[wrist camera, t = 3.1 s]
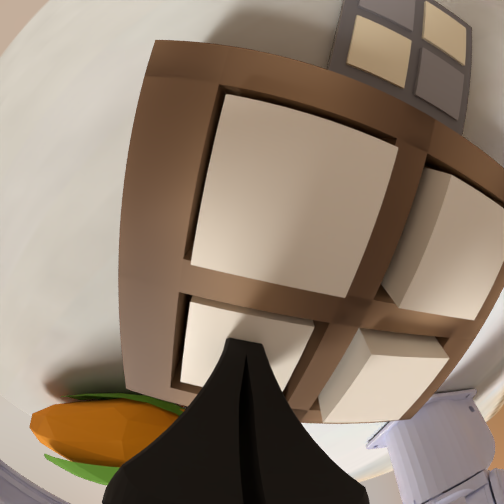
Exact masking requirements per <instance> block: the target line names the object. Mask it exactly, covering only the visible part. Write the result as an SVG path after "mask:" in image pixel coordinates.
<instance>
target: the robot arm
mask: <svg viewBox="0 0 504 504" xmlns="http://www.w3.org/2000/svg"><path fill="white" fill-rule="evenodd" d="M476 393H477V390H476V389H470V390H463V391H456V392H448V393H439V394H433V395H432V396H431V398H430V399H429V400H428V401H427V402H426V403H425V404H424V405H423V406H422V408H421V409H420V410H419V411H418V412H417V413H416V414H415V415H414V416H413V417H412V418H411V419H408V420H399V421H390V422H389V423H388V424H387V425H386V426H385V427H384V428H383V429H382V430H381V431H380V432H379V433H378V434H377V435H376V436H375V437H374V438H373V439H372V440H371V441H370V442H368V443H367V444H366V449H375V448H383V447H387V449H388V452H389V456H390V459H391V463H392V466H393V469H394V473H395V476H396V480H397V484H398V488H399V491H400V495H401V499H402V503H403V504H504V470H503V469H497V468H495V469H493V470H492V471H489V470H487V469H488V467H489V466H490V464H491V462H492V460H493V457H494V453H495V442H494V438H493V436H492V434H491V432H490V430H489V428H488V426H487V424H486V422H485V420H484V418H483V417H482V415H481V413H480V411H479V409H478V408H477V406H476V404H475V402H474V401H473V399H472V398H473V397H474V396H475V394H476ZM102 503H103V504H369V498H368V495H367V492H366V489H365V487H364V486H362V485H361V484H360V483H359V482H357V481H356V480H355V479H353V478H352V477H351V476H349V475H348V474H347V473H346V472H344V471H343V470H342V469H341V468H340V467H339V466H338V465H337V464H336V463H335V462H333V461H332V460H331V459H330V458H329V456H328V455H327V454H326V453H325V452H324V451H323V450H322V449H321V448H320V447H319V446H318V444H317V443H316V442H315V441H314V440H313V439H312V437H311V436H310V435H309V433H308V432H307V431H306V430H305V428H304V427H303V425H302V424H301V423H300V421H299V420H298V418H297V417H296V415H295V413H294V412H293V410H292V409H291V407H290V405H289V403H288V402H287V400H286V398H285V396H284V394H283V392H282V390H281V388H280V386H279V384H278V382H277V380H276V378H275V376H274V373H273V371H272V368H271V366H270V364H269V361H268V358H267V355H266V353H265V350H264V346H263V345H262V344H261V343H255V342H250V341H245V340H240V339H235V338H230V337H229V338H227V339H226V341H225V345H224V349H223V352H222V354H221V356H220V358H219V361H218V363H217V364H216V366H215V368H214V370H213V372H212V373H211V375H210V377H209V378H208V380H207V381H206V383H205V384H204V386H203V387H202V389H201V390H200V392H199V393H198V394H197V396H196V397H195V398H194V400H193V401H192V402H191V403H190V405H189V406H188V407H187V408H186V409H185V411H184V412H183V413H182V414H181V415H180V416H179V417H178V418H177V419H176V420H175V421H174V422H173V424H172V425H171V426H170V427H169V428H167V429H166V430H165V431H164V432H163V433H162V434H161V435H160V436H159V437H158V438H156V439H155V440H154V441H153V442H152V443H151V444H149V445H148V446H147V447H146V448H145V449H143V450H142V451H141V452H139V453H138V454H136V455H135V456H134V457H132V458H131V459H129V460H128V461H127V462H125V463H124V464H122V466H121V467H120V468H119V469H118V471H117V472H116V473H115V474H114V476H113V477H112V478H111V480H110V482H109V483H108V485H107V487H106V490H105V493H104V497H103V500H102ZM0 504H70V503H68V502H66V501H64V500H62V499H60V498H58V497H57V496H55V495H53V494H51V493H49V492H48V491H46V490H44V489H43V488H41V487H39V486H38V485H36V484H34V483H33V482H31V481H30V480H28V479H27V478H25V477H24V476H22V475H20V474H19V473H18V472H16V471H15V470H13V469H12V468H11V467H9V466H8V465H7V464H5V463H4V462H3V461H1V460H0Z"/></svg>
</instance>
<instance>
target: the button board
mask: <svg viewBox="0 0 504 504" xmlns="http://www.w3.org/2000/svg"><path fill="white" fill-rule="evenodd" d="M226 94H229V95H234V96H240V97H244V98H249V99H254V100H258V101H263V102H267V103H271V104H275V105H279V106H283V107H287V108H290V109H294V110H297V111H301V112H304V113H308V114H311V115H314V116H317V117H321V118H324V119H327V120H330V121H333V122H336V123H338V124H341V125H344V126H347V127H350V128H352V129H355V130H358V131H360V132H363V133H365V134H368V135H370V136H373V137H375V138H378V139H380V140H382V141H385V142H387V143H389V144H392V145H394V146H396V147H398V152H397V155H396V159H395V163H394V166H393V170H392V173H391V176H390V180H389V183H388V186H387V189H386V192H385V196H384V199H383V202H382V205H381V208H380V211H379V214H378V216H377V219H376V222H375V225H374V228H373V231H372V233H371V236H370V239H369V241H368V244H367V247H366V249H365V252H364V254H363V257H362V259H361V262H360V264H359V267H358V269H357V272H356V274H355V276H354V279H353V281H352V283H351V286H350V288H349V290H348V293H347V295H346V297H345V298H343V297H338V296H332V295H327V294H322V293H317V292H312V291H308V290H303V289H298V288H293V287H288V286H284V285H279V284H274V283H269V282H265V281H260V280H256V279H251V278H247V277H242V276H238V275H233V274H229V273H224V272H220V271H215V270H211V269H207V268H203V267H198V266H194V265H191V259H192V253H193V246H194V241H195V235H196V229H197V223H198V218H199V212H200V207H201V202H202V197H203V192H204V187H205V182H206V177H207V172H208V167H209V163H210V158H211V154H212V149H213V145H214V140H215V136H216V132H217V128H218V124H219V119H220V115H221V111H222V107H223V104H224V100H225V96H226ZM424 167H425V168H429V169H433V170H436V171H440V172H444V173H447V174H451V175H453V176H455V177H456V178H458V179H460V180H461V181H463V182H465V183H466V184H468V185H470V186H471V187H473V188H474V189H476V190H478V191H479V192H481V193H482V194H484V195H485V196H487V197H488V198H490V199H491V200H493V201H494V202H495V203H497V204H498V205H500V206H501V207H503V208H504V168H503V167H502V166H501V165H500V164H498V163H497V162H496V161H495V160H493V159H492V158H491V157H490V156H488V155H487V154H486V153H485V152H483V151H482V150H481V149H479V148H478V147H477V146H475V145H474V144H472V143H471V142H470V141H468V140H467V139H465V138H464V137H462V136H461V135H459V134H458V133H456V132H455V131H453V130H452V129H450V128H449V127H447V126H446V125H444V124H442V123H441V122H439V121H438V120H436V119H434V118H432V117H431V116H429V115H427V114H426V113H424V112H422V111H420V110H418V109H417V108H415V107H413V106H411V105H409V104H407V103H405V102H403V101H401V100H399V99H397V98H395V97H393V96H391V95H389V94H387V93H385V92H383V91H380V90H378V89H376V88H374V87H371V86H369V85H367V84H364V83H362V82H359V81H357V80H354V79H352V78H349V77H347V76H344V75H341V74H338V73H336V72H333V71H330V70H327V69H324V68H321V67H318V66H315V65H311V64H308V63H305V62H301V61H298V60H294V59H290V58H286V57H282V56H278V55H274V54H270V53H265V52H260V51H255V50H250V49H245V48H239V47H233V46H226V45H219V44H211V43H201V42H190V41H174V40H155V43H154V46H153V49H152V52H151V56H150V59H149V62H148V66H147V69H146V73H145V77H144V80H143V84H142V88H141V92H140V96H139V100H138V105H137V109H136V114H135V119H134V123H133V129H132V134H131V139H130V145H129V151H128V158H127V164H126V172H125V179H124V188H123V197H122V208H121V221H120V237H119V269H118V287H119V319H120V335H121V348H122V358H123V368H124V376H125V383H126V389H128V390H131V391H134V392H138V393H141V394H144V395H147V396H151V397H154V398H158V399H161V400H165V401H169V402H172V403H176V404H180V405H184V406H189V405H190V403H191V402H192V401H193V400H194V398H195V397H196V396H197V394H198V393H199V392H200V390H201V389H202V387H201V386H196V385H192V384H188V383H184V382H180V380H181V371H182V362H183V353H184V345H185V337H186V329H187V322H188V315H189V308H190V301H191V299H192V296H193V295H194V296H198V297H202V298H206V299H211V300H215V301H220V302H224V303H229V304H233V305H238V306H242V307H247V308H252V309H257V310H262V311H267V312H272V313H277V314H282V315H288V316H293V317H299V318H304V319H310V320H313V323H314V326H315V327H314V329H313V332H312V334H311V336H310V338H309V340H308V342H307V344H306V346H305V349H304V351H303V353H302V355H301V357H300V359H299V361H298V363H297V365H296V367H295V369H294V371H293V373H292V375H291V377H290V379H289V381H288V383H287V384H286V386H285V388H284V390H283V394H284V396H285V398H286V400H287V402H288V403H289V405H290V407H291V409H292V410H293V412H294V413H295V415H296V417H297V418H298V420H299V421H300V423H323V421H322V415H321V410H320V405H319V399H318V396H319V394H320V393H321V391H322V389H323V388H324V386H325V385H326V383H327V382H328V380H329V379H330V377H331V375H332V374H333V372H334V370H335V369H336V367H337V366H338V364H339V362H340V361H341V359H342V357H343V355H344V354H345V352H346V350H347V348H348V347H349V345H350V343H351V341H352V340H353V338H354V336H355V334H356V332H357V330H358V329H359V327H360V328H367V329H375V330H382V331H390V332H398V333H407V334H416V335H425V336H434V337H435V338H436V339H437V341H438V342H439V344H440V345H441V346H442V348H443V349H444V351H445V352H446V354H447V355H448V357H449V360H448V361H447V363H446V364H445V365H444V367H443V368H442V369H441V371H440V372H439V373H438V375H437V376H436V377H435V379H434V380H433V381H432V382H431V384H430V385H429V386H428V387H427V388H426V390H425V391H424V392H423V393H422V394H421V396H420V397H419V398H418V399H417V400H416V401H415V403H414V404H413V405H412V406H411V407H410V408H409V409H408V410H407V411H406V412H405V413H404V415H403V416H402V417H401V418H400V419H399V420H408V419H411V418H412V417H413V416H414V415H415V414H416V413H417V412H418V411H419V410H420V409H421V408H422V406H423V405H424V404H425V403H426V402H427V401H428V400H429V399H430V398H431V396H432V395H433V394H434V393H435V392H436V390H437V389H438V388H439V387H440V386H441V384H442V383H443V382H444V381H445V379H446V378H447V377H448V376H449V374H450V373H451V372H452V370H453V369H454V368H455V366H456V365H457V364H458V362H459V361H460V360H461V358H462V357H463V355H464V354H465V352H466V351H467V349H468V348H469V347H470V345H471V344H472V342H473V340H474V339H475V337H476V336H477V334H478V333H479V331H480V329H481V328H482V326H483V324H484V323H485V321H486V319H487V317H488V316H489V314H490V312H491V310H492V309H493V307H494V305H495V303H496V301H497V299H498V297H499V295H500V293H501V291H502V289H503V287H504V261H503V264H502V266H501V268H500V271H499V273H498V275H497V277H496V280H495V282H494V284H493V286H492V288H491V290H490V292H489V294H488V296H487V298H486V300H485V302H484V303H483V305H482V307H481V309H480V311H479V313H478V314H477V316H476V318H475V320H468V319H462V318H455V317H449V316H443V315H437V314H431V313H425V312H419V311H413V310H407V309H402V308H398V307H397V305H396V304H395V302H394V301H393V300H392V298H391V297H390V295H389V294H388V293H387V291H386V290H385V289H384V287H383V286H382V285H381V282H382V280H383V278H384V275H385V273H386V271H387V269H388V266H389V264H390V262H391V259H392V257H393V254H394V252H395V249H396V247H397V245H398V242H399V239H400V237H401V234H402V232H403V229H404V226H405V223H406V221H407V218H408V215H409V212H410V209H411V206H412V203H413V200H414V197H415V194H416V191H417V188H418V185H419V181H420V178H421V175H422V171H423V168H424ZM399 420H391V421H399ZM378 422H388V421H378ZM357 423H375V422H357ZM325 424H350V423H325Z"/></svg>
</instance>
